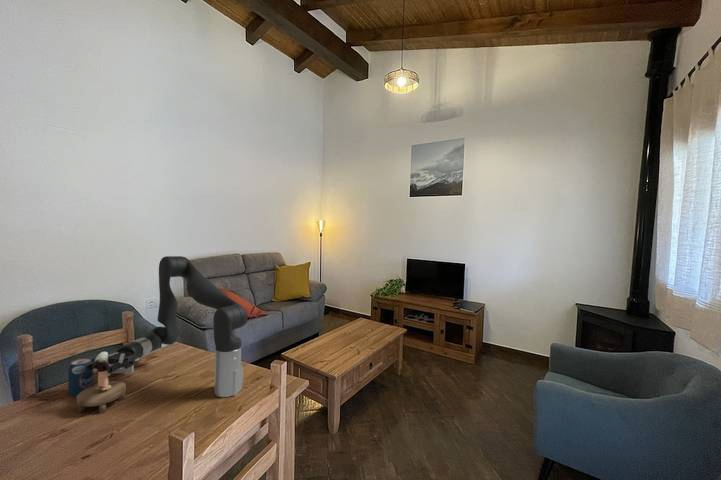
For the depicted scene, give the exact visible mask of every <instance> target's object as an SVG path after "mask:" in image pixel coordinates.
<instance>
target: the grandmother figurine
mask: <svg viewBox="0 0 721 480" xmlns="http://www.w3.org/2000/svg"><path fill="white" fill-rule="evenodd" d="M108 355H109V353H108V352H107V351H101V352H100V353H98V355H96V356H95V357H96V359H95V360H98V361H99V362H98V363H97V364H96V365H95V366H94V369H93V371H94V373H96V372H97V374H98V375H97V384H98V387H97V388H96V389H101V388H102V389H101V390H106V389H109V388H111V385H108V384H109V382H110V380H109V376H111V374H112V373H107V368H108V367H109V364H108V363H107V362H105V361H107V359H108Z"/></svg>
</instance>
